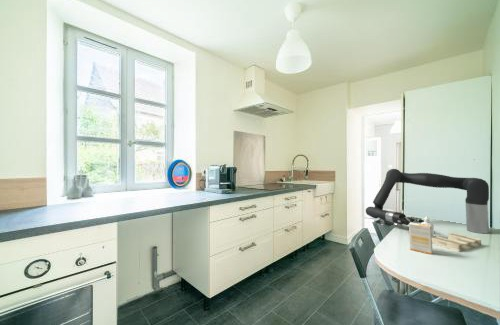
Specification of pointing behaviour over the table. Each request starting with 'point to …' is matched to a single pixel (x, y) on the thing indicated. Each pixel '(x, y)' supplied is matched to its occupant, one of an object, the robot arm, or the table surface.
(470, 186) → the robot arm
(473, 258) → the table surface
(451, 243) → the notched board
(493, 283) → the table surface
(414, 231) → the supplement box
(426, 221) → the eye dropper bottle
